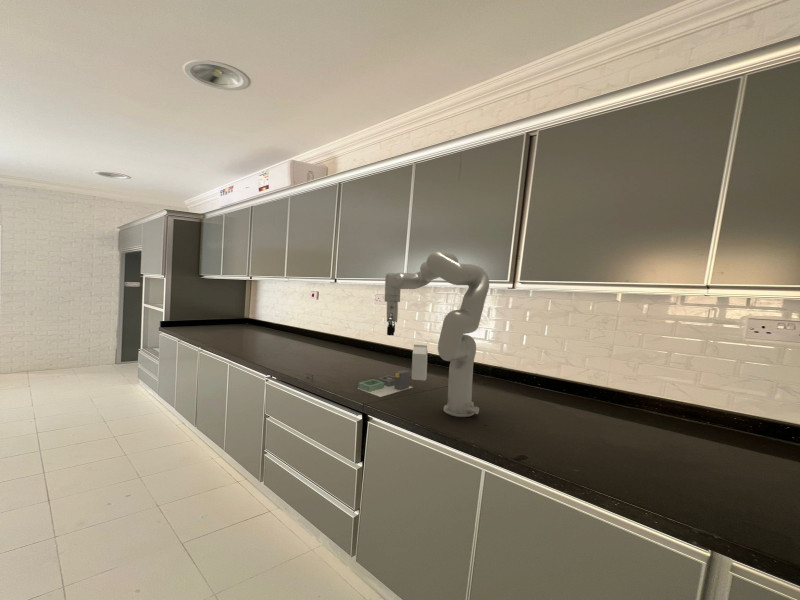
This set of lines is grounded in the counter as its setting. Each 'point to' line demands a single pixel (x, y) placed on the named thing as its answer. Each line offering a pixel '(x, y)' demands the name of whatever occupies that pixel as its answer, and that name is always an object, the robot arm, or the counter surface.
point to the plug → (402, 379)
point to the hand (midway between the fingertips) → (390, 333)
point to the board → (386, 387)
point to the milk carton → (419, 362)
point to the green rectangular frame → (371, 385)
